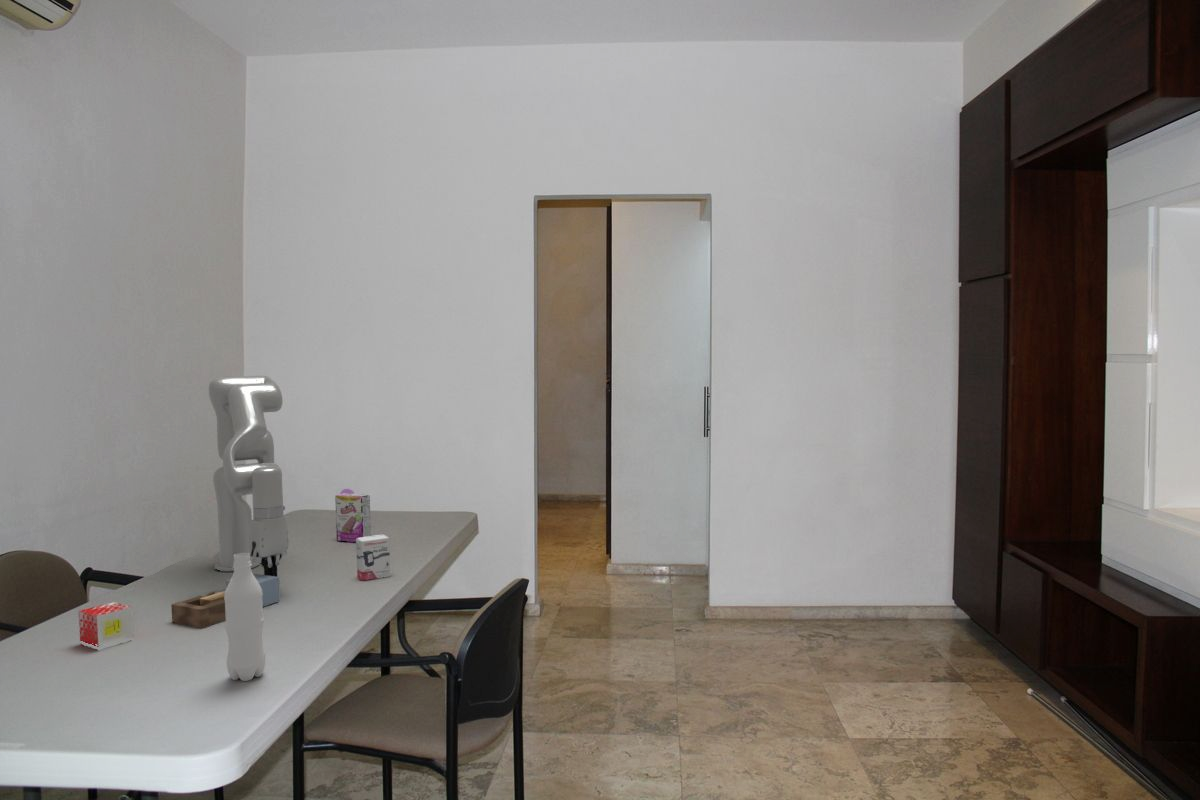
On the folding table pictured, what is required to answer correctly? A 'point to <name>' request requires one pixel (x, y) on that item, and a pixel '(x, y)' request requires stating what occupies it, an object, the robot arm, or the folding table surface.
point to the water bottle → (244, 621)
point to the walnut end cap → (198, 612)
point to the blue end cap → (267, 588)
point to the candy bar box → (352, 516)
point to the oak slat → (212, 598)
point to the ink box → (373, 557)
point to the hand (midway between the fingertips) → (271, 580)
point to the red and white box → (106, 624)
